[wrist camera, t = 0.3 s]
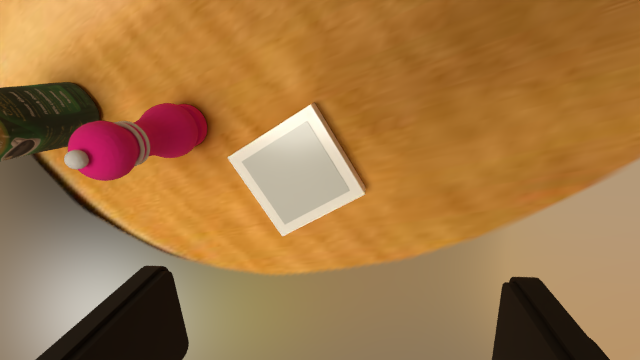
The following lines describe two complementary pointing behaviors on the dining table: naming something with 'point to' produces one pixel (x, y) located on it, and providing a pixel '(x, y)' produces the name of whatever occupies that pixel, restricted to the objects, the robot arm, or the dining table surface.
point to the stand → (298, 171)
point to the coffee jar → (41, 117)
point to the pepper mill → (134, 140)
